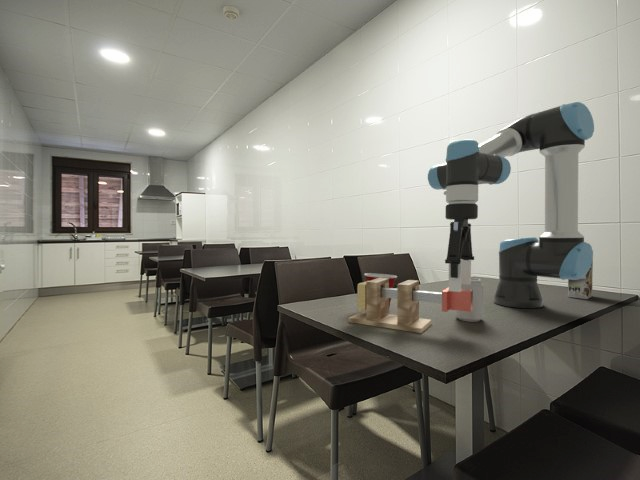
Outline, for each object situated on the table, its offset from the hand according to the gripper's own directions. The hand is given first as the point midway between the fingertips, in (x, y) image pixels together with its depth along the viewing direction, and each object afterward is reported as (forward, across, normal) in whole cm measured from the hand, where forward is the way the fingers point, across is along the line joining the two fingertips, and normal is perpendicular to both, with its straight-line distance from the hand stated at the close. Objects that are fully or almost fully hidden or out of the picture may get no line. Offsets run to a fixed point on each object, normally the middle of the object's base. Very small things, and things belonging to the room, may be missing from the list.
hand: (460, 287), depth 87 cm
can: (+12, -16, 0) cm, 20 cm away
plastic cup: (+12, -14, -27) cm, 33 cm away
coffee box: (+11, -74, +31) cm, 81 cm away
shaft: (+6, 0, -13) cm, 14 cm away
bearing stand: (+12, 0, -18) cm, 22 cm away
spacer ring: (+5, 0, -26) cm, 26 cm away
